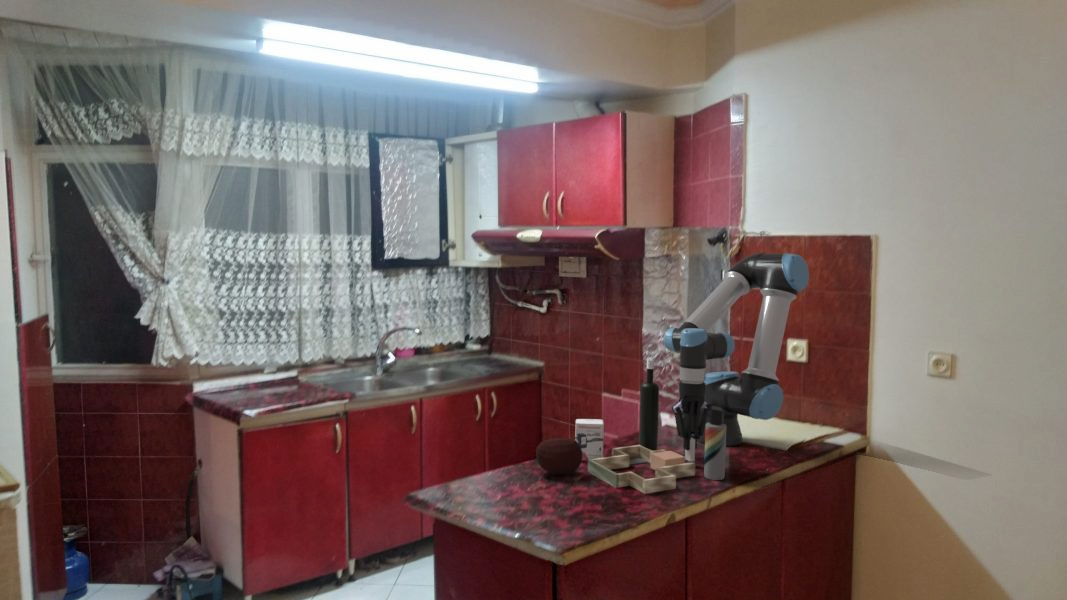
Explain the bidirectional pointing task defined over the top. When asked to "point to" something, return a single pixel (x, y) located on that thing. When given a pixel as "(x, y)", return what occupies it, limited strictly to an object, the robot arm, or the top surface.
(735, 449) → the top surface
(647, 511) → the top surface
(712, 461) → the lotion bottle
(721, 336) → the robot arm
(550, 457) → the potato
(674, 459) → the block
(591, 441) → the ink box
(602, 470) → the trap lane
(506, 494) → the top surface
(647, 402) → the wine bottle
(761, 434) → the top surface
